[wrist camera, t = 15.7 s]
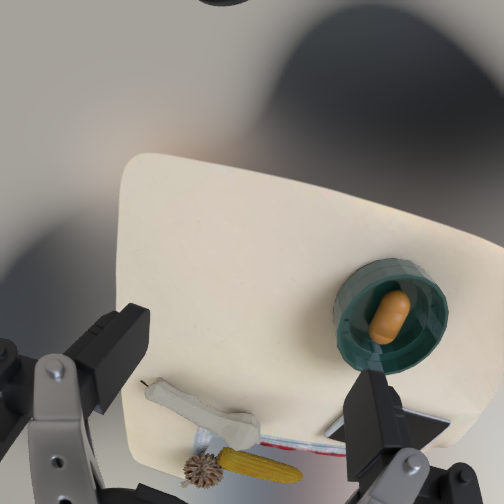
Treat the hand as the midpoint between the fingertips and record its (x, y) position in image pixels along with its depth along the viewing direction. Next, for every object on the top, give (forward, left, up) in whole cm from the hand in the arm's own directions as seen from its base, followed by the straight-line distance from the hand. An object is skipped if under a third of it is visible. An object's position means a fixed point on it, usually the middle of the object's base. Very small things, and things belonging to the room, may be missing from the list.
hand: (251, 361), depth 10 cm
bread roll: (0, +21, -30) cm, 36 cm away
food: (+43, +38, -30) cm, 65 cm away
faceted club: (+36, +15, -30) cm, 50 cm away
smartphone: (+15, +48, -30) cm, 59 cm away
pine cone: (+58, +31, -30) cm, 72 cm away
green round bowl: (0, +21, -30) cm, 37 cm away
